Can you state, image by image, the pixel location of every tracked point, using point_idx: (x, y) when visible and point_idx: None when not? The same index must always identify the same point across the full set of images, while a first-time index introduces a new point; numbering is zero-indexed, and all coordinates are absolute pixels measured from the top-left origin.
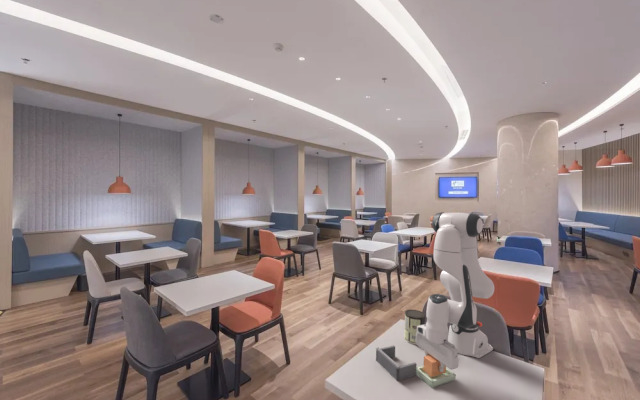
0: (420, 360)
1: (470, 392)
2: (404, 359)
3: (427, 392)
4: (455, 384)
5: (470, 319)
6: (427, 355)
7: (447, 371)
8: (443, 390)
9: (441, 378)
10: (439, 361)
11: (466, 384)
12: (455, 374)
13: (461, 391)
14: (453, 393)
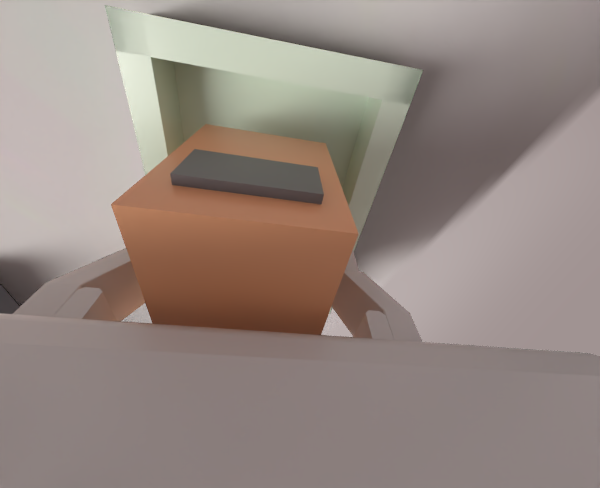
0: (5, 105)
1: (549, 110)
2: (7, 225)
3: (332, 316)
4: (417, 131)
5: None
6: (125, 312)
7: (317, 86)
8: (378, 255)
9: None
10: (317, 332)
11: (512, 13)
12: (421, 73)
13: (477, 168)
14: (433, 230)
